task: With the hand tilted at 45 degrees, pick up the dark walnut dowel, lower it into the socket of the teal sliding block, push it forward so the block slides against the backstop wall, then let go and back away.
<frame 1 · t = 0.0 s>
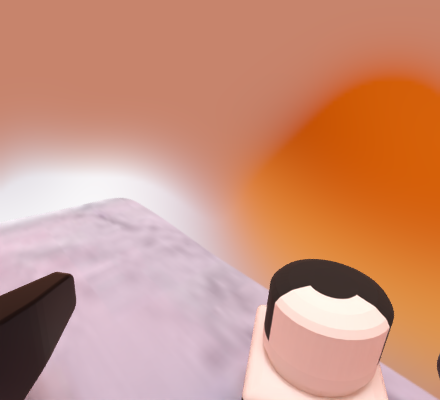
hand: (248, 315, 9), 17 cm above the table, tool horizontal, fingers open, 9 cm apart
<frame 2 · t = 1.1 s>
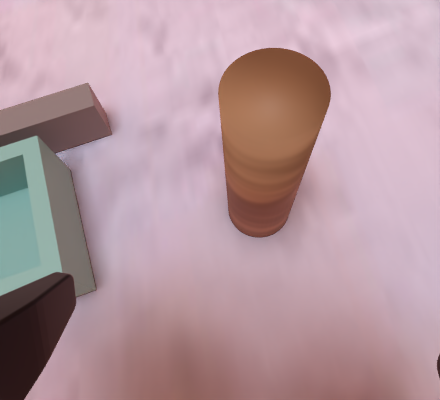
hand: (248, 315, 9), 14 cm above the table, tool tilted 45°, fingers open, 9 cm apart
dowel: (258, 208, 24), on the table
backstop wall: (4, 157, 27), on the table
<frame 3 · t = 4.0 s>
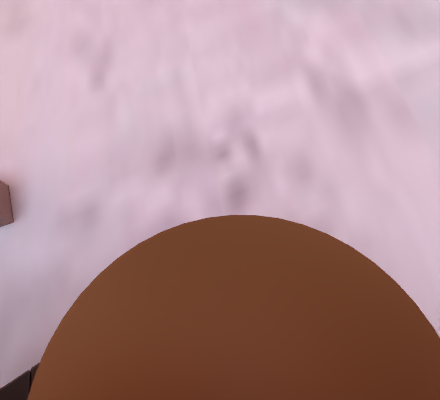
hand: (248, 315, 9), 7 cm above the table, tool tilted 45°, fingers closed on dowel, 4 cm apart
dowel: (240, 364, 14), on the table, touching gripper
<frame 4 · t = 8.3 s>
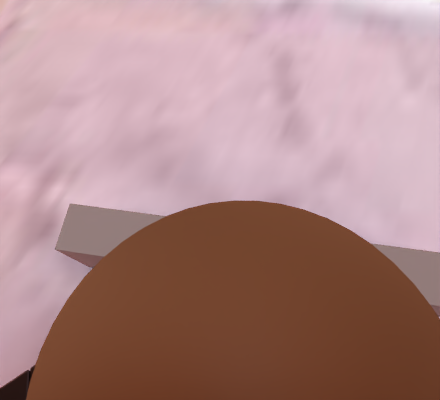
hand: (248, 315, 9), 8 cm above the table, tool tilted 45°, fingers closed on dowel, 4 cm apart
dowel: (239, 372, 14), point 2 cm above the table, touching gripper, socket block
backstop wall: (252, 270, 17), on the table
when the fingers open (8 cm above the table, at t = 9.3 s): dowel stays where it is, resting on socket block.
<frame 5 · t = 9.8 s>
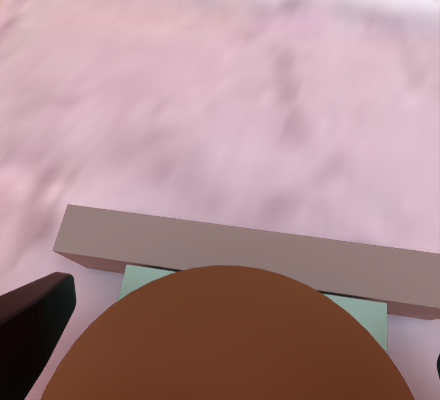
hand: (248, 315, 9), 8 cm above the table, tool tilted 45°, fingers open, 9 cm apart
dowel: (238, 380, 14), point 1 cm above the table, touching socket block
backstop wall: (252, 271, 17), on the table
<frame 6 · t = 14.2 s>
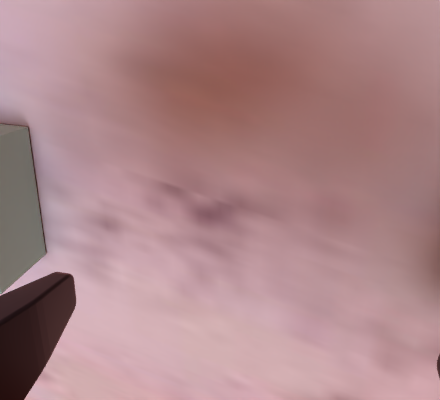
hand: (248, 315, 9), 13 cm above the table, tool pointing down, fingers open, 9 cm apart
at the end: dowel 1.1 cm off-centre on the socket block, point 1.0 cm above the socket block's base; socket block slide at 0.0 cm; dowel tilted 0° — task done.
